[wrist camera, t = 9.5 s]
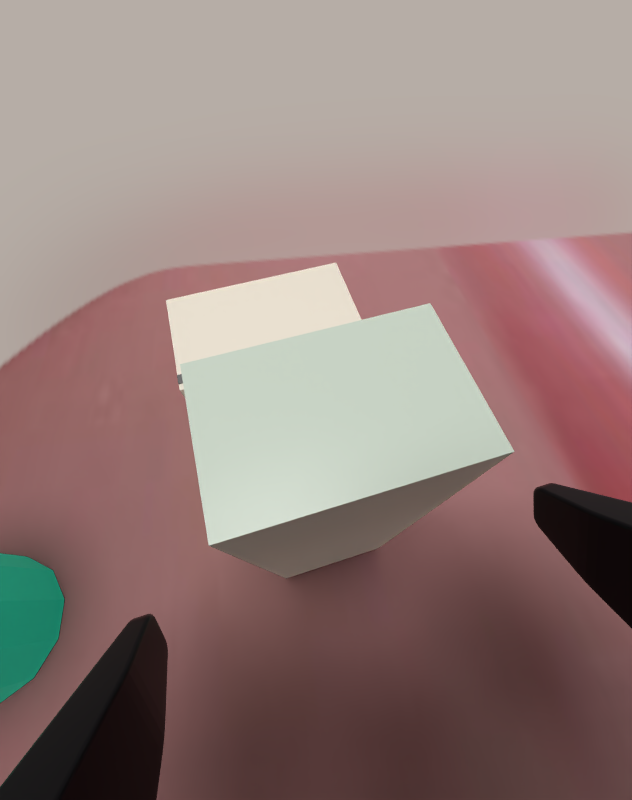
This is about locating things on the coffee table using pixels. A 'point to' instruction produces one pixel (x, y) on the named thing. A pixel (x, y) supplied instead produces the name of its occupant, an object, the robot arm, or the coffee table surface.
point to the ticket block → (258, 313)
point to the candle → (26, 619)
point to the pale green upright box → (335, 438)
